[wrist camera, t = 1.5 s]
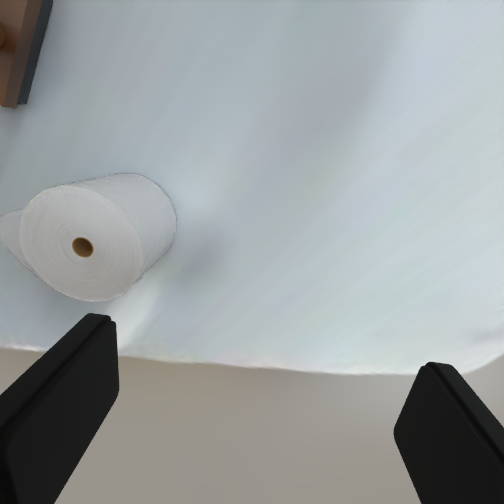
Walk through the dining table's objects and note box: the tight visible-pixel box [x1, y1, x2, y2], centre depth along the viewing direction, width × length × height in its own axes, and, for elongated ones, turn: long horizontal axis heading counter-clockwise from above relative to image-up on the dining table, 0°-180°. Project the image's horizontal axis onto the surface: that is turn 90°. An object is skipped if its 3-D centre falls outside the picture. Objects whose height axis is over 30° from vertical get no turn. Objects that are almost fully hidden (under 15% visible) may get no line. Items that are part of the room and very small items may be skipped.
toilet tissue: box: [0, 173, 177, 302], centre depth 29 cm, size 11×12×10 cm
